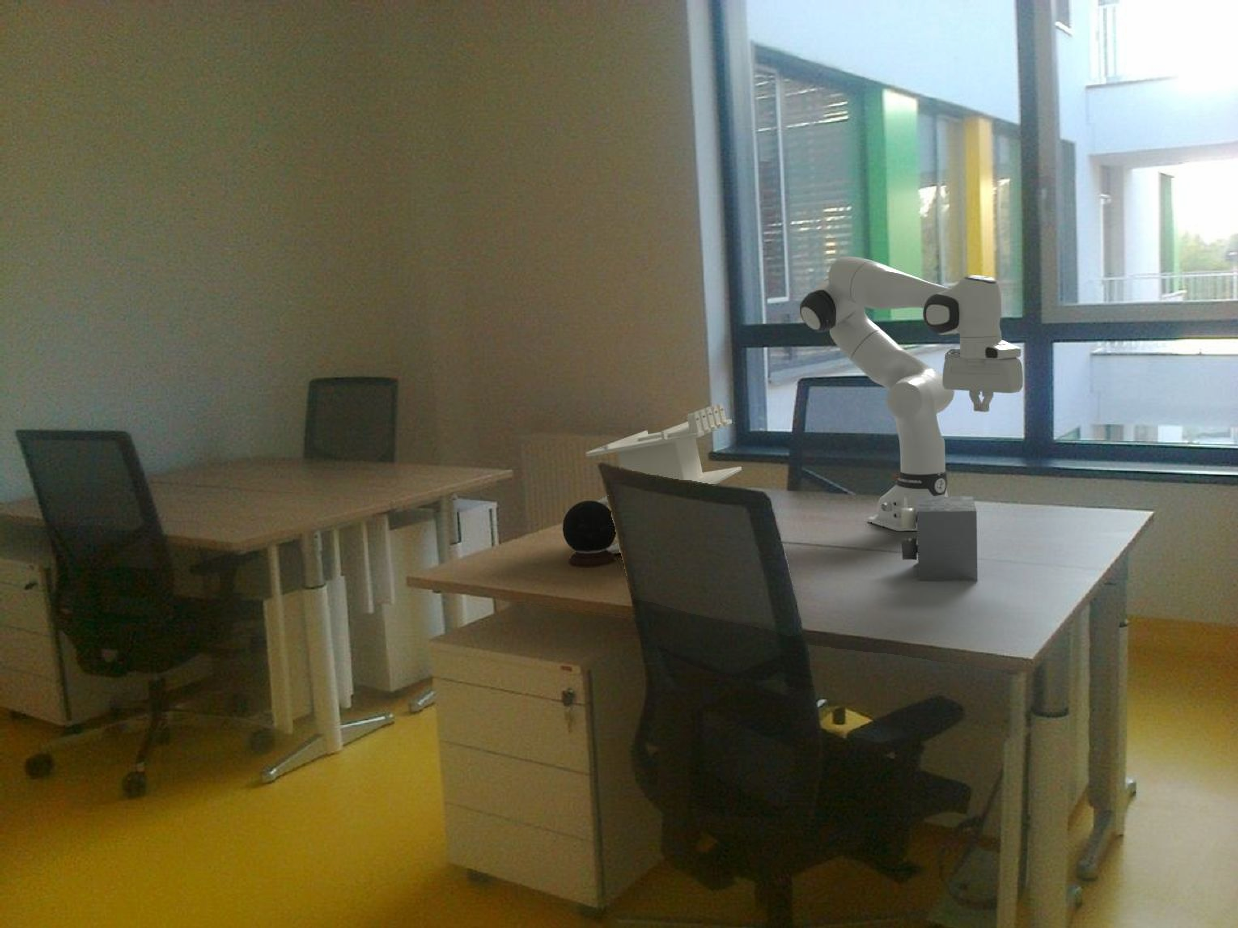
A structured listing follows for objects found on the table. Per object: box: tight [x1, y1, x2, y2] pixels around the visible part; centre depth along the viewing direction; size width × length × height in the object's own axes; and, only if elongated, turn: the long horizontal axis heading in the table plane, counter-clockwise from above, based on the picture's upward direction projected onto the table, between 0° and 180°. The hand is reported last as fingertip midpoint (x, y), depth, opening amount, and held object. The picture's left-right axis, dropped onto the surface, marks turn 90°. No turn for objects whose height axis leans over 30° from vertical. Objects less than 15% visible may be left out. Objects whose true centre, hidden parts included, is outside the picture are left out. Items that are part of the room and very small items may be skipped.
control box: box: [916, 495, 978, 582], centre depth 251 cm, size 12×16×15 cm
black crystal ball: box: [562, 500, 617, 568], centre depth 281 cm, size 13×13×15 cm
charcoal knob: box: [901, 537, 918, 561], centre depth 249 cm, size 10×5×5 cm, turn 76°
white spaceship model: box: [585, 403, 743, 555], centre depth 292 cm, size 26×31×35 cm
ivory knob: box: [902, 508, 917, 529], centre depth 256 cm, size 10×5×5 cm, turn 76°
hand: (981, 411), depth 259 cm, fingers closed
